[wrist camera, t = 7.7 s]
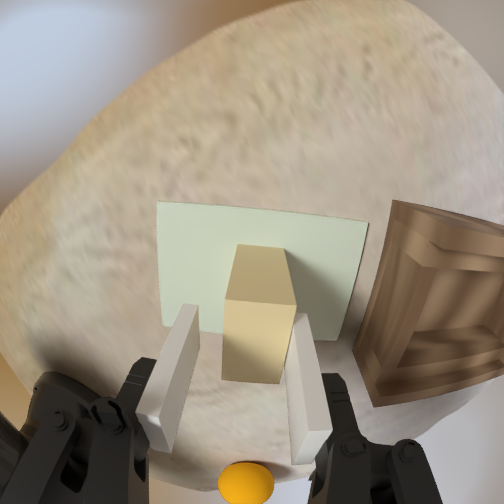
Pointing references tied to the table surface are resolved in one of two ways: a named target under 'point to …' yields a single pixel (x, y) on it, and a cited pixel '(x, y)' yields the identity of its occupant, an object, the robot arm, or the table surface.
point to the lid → (256, 277)
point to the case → (433, 306)
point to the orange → (246, 483)
